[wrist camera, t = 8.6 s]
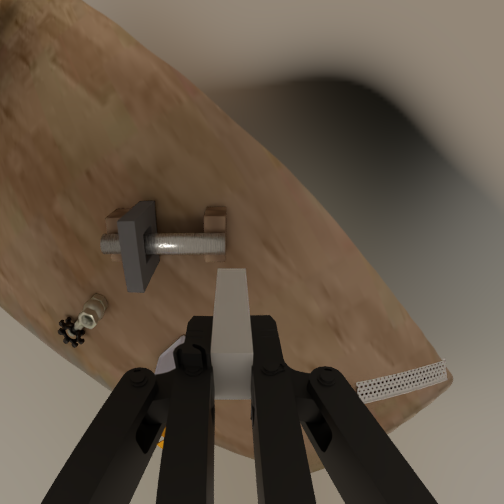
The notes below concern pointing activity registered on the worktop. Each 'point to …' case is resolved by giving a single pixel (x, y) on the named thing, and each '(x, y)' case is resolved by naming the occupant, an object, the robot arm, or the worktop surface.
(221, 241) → the pipe
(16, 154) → the worktop surface
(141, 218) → the collar
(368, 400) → the corner bead
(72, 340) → the valve
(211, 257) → the saddles
